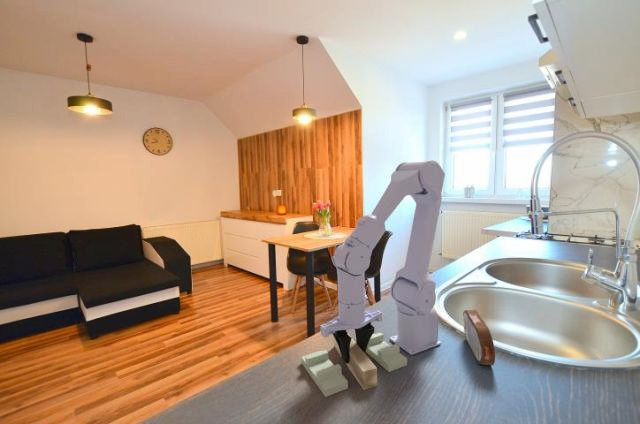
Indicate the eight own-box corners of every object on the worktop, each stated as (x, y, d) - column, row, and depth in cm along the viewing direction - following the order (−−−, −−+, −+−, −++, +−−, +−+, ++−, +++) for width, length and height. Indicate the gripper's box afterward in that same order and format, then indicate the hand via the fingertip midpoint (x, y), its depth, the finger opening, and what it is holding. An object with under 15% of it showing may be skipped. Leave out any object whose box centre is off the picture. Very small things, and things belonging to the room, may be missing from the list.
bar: (345, 344, 75) (345, 329, 75) (377, 386, 60) (376, 368, 59) (334, 347, 74) (333, 332, 74) (363, 390, 59) (363, 371, 59)
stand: (374, 339, 77) (374, 327, 76) (407, 365, 66) (407, 352, 66) (301, 363, 68) (300, 350, 68) (325, 397, 57) (324, 382, 57)
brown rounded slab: (496, 374, 62) (497, 335, 61) (479, 372, 63) (480, 334, 61) (474, 335, 77) (475, 303, 75) (460, 334, 77) (461, 303, 76)
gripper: (368, 286, 72) (370, 340, 73) (313, 299, 66) (316, 358, 67) (387, 297, 65) (388, 355, 67) (328, 312, 59) (330, 376, 61)
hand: (353, 358), depth 67 cm, fingers open, 3 cm apart
